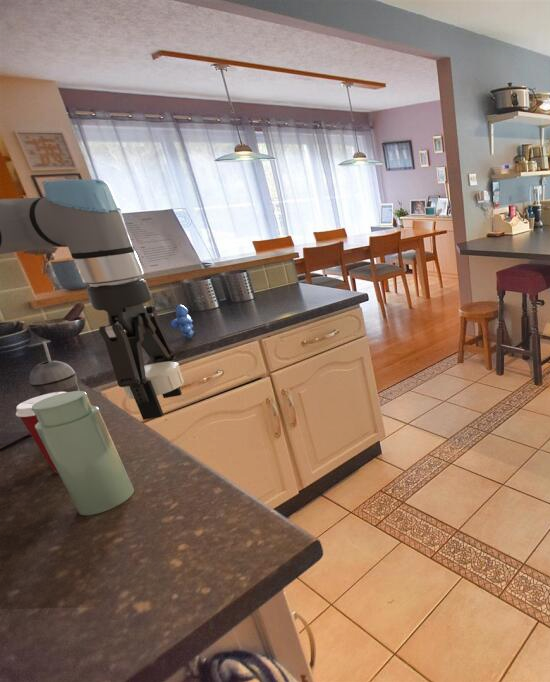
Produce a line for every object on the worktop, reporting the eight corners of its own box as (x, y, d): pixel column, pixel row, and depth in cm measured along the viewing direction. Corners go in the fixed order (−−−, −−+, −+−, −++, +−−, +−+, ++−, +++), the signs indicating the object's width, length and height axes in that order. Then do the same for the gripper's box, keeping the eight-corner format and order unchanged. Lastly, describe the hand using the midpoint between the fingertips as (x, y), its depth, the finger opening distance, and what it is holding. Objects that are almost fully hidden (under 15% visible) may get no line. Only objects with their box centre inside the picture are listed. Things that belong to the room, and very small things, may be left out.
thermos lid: (187, 375, 82) (181, 358, 81) (180, 390, 75) (173, 372, 74) (134, 386, 78) (127, 368, 77) (122, 403, 72) (114, 384, 71)
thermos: (65, 516, 70) (11, 412, 63) (105, 486, 77) (60, 390, 70) (108, 514, 70) (58, 410, 63) (145, 485, 76) (103, 387, 70)
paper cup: (105, 459, 85) (76, 395, 80) (51, 481, 79) (16, 414, 74) (93, 448, 89) (65, 387, 84) (41, 468, 83) (8, 403, 79)
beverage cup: (45, 430, 98) (4, 348, 91) (84, 414, 104) (48, 336, 97) (65, 434, 95) (24, 350, 89) (103, 418, 102) (68, 338, 95)
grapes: (177, 335, 162) (166, 304, 158) (199, 331, 165) (188, 301, 161) (174, 344, 153) (162, 311, 148) (197, 339, 156) (186, 307, 152)
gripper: (119, 273, 78) (162, 387, 86) (44, 298, 60) (108, 440, 68) (167, 268, 81) (205, 379, 88) (110, 291, 62) (165, 429, 70)
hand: (163, 405), depth 78 cm, fingers closed on thermos lid, 8 cm apart
